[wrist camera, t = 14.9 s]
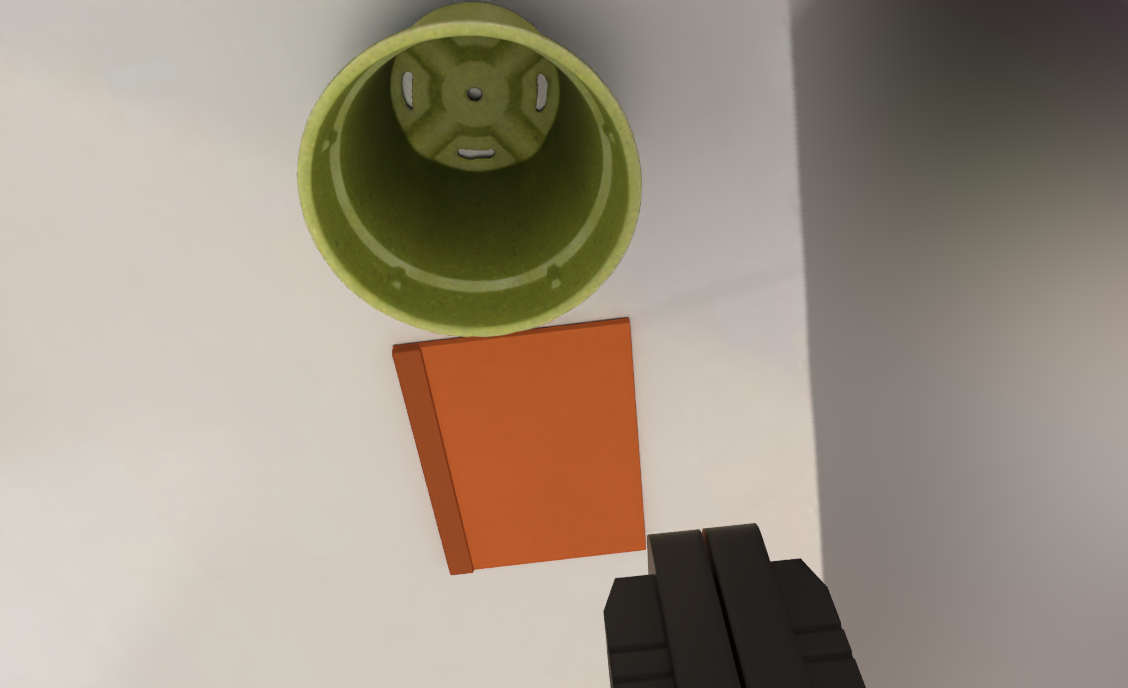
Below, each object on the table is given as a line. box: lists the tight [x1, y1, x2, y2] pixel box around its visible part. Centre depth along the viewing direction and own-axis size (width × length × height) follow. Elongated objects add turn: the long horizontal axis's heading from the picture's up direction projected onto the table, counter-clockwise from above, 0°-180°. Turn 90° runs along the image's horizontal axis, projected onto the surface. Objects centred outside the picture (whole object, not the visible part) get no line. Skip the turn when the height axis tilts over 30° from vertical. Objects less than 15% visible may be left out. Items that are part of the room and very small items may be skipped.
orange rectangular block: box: [392, 318, 646, 575], centre depth 41 cm, size 14×10×1 cm
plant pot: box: [297, 2, 642, 337], centre depth 28 cm, size 9×9×9 cm
